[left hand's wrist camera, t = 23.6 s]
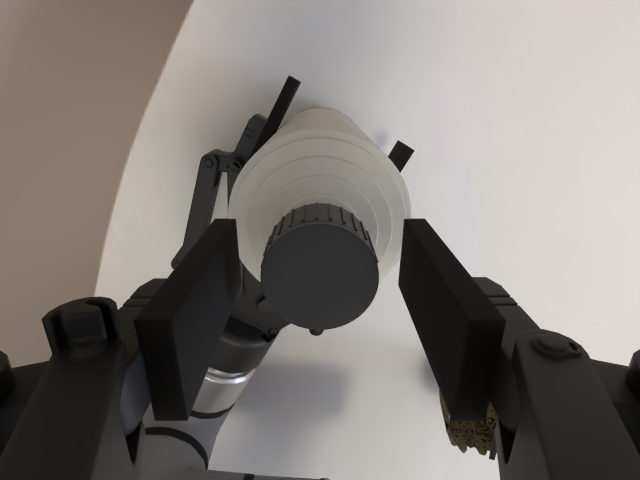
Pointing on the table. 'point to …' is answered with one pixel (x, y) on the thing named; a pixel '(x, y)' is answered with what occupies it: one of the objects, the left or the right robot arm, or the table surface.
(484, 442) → the cup
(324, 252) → the cap
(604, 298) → the table surface
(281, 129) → the bottle
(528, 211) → the table surface
